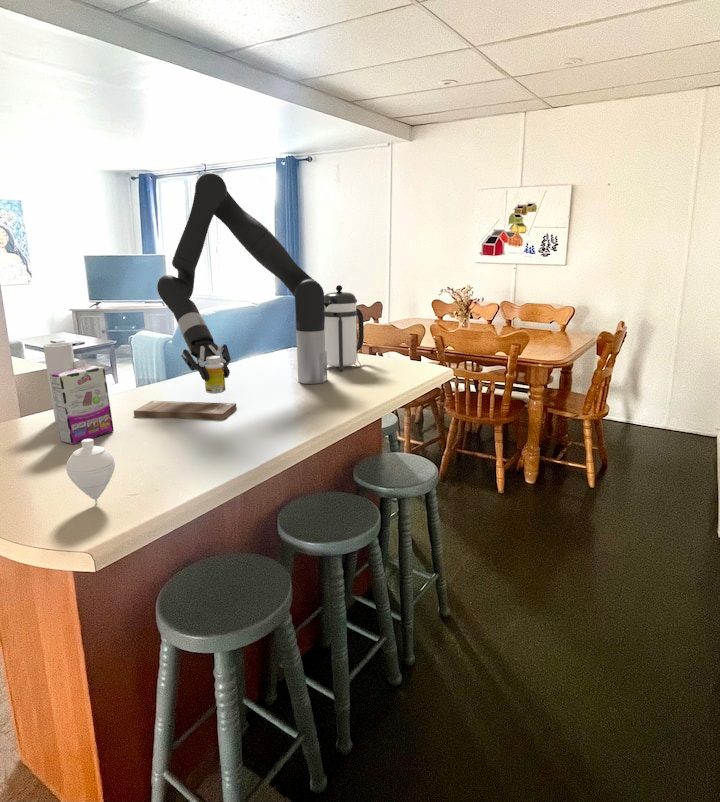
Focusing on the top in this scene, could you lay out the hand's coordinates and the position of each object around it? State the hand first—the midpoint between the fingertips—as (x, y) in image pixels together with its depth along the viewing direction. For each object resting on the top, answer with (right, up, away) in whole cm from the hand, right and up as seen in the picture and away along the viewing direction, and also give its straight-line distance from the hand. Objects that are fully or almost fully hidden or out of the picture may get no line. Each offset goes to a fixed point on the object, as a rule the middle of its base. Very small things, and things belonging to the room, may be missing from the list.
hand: (217, 377), depth 162 cm
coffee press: (+34, +6, +50) cm, 61 cm away
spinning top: (-6, -25, -61) cm, 67 cm away
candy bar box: (-25, -15, -25) cm, 39 cm away
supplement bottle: (-1, -4, +2) cm, 5 cm away
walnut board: (-7, -10, -7) cm, 14 cm away
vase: (-34, -12, -12) cm, 38 cm away
